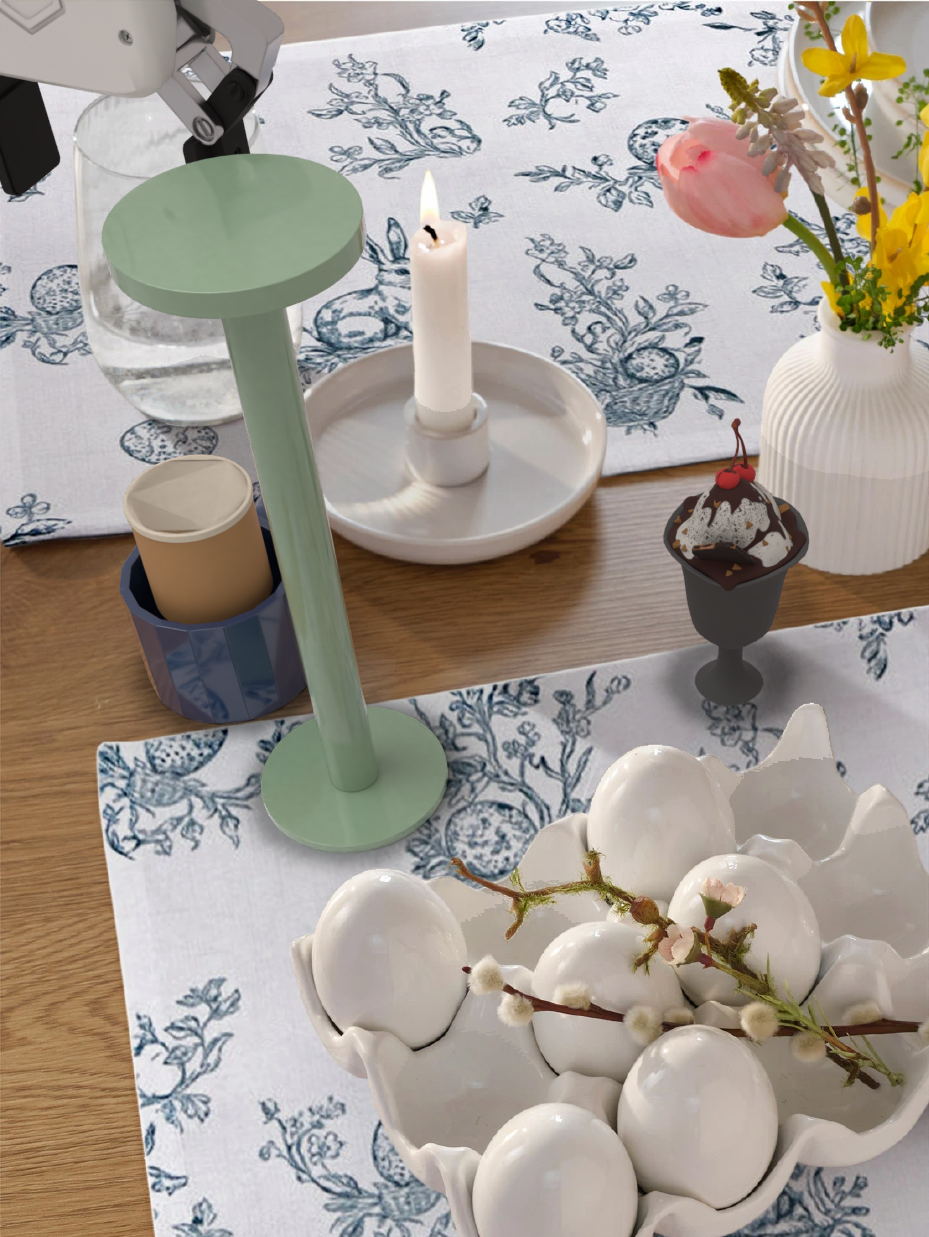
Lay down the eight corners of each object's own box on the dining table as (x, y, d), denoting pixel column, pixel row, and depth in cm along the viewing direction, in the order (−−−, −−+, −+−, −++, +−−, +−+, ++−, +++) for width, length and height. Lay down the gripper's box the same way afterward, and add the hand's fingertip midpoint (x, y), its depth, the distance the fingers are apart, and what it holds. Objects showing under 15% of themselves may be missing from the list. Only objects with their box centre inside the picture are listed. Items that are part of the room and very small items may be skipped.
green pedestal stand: (234, 839, 77) (53, 274, 54) (306, 706, 83) (169, 141, 59) (412, 876, 75) (304, 308, 52) (473, 737, 81) (399, 167, 58)
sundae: (737, 623, 85) (750, 382, 74) (820, 697, 82) (847, 456, 70) (636, 677, 83) (633, 437, 71) (717, 755, 79) (727, 516, 68)
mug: (281, 744, 81) (254, 643, 75) (125, 714, 83) (88, 613, 77) (365, 590, 88) (345, 487, 83) (220, 565, 90) (192, 463, 84)
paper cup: (157, 692, 83) (100, 525, 74) (206, 614, 86) (156, 445, 78) (265, 713, 81) (220, 545, 73) (310, 632, 85) (272, 464, 77)
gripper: (-284, -271, 54) (-95, 209, 67) (155, -218, 49) (265, 288, 62) (-136, -340, 58) (14, 123, 71) (281, -298, 53) (359, 192, 66)
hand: (131, 200), depth 67 cm, fingers open, 9 cm apart
